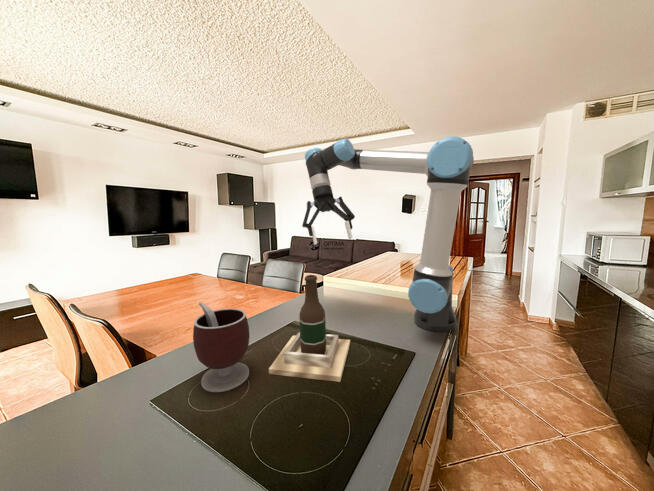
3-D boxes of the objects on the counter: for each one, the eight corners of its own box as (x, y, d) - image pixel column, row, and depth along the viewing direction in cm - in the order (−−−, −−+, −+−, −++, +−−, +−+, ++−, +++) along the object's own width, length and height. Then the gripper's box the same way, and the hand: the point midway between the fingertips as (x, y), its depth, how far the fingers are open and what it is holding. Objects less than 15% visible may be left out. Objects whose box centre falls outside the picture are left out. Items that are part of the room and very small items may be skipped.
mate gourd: (262, 370, 76) (258, 302, 73) (221, 401, 64) (214, 321, 61) (226, 356, 83) (220, 294, 81) (183, 381, 72) (175, 310, 69)
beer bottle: (312, 343, 87) (309, 271, 84) (331, 351, 82) (329, 274, 79) (295, 354, 81) (291, 276, 78) (314, 362, 76) (311, 280, 73)
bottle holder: (350, 343, 89) (349, 331, 88) (340, 381, 70) (339, 365, 69) (293, 339, 93) (292, 327, 93) (269, 373, 74) (268, 358, 73)
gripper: (349, 188, 109) (361, 237, 106) (288, 196, 104) (299, 249, 100) (354, 180, 102) (367, 233, 99) (289, 188, 96) (301, 244, 93)
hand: (333, 241), depth 99 cm, fingers open, 13 cm apart
